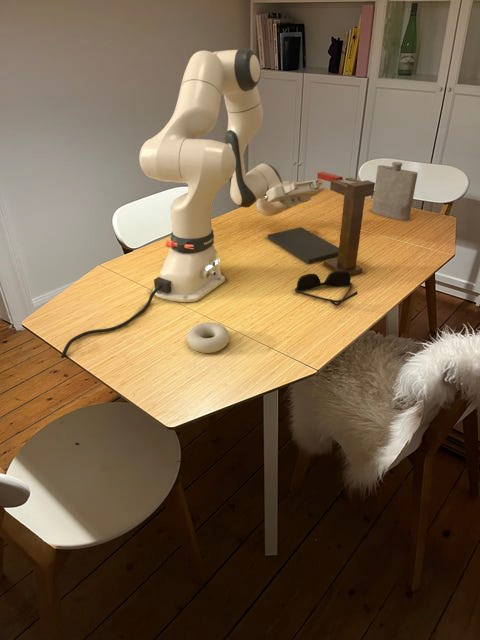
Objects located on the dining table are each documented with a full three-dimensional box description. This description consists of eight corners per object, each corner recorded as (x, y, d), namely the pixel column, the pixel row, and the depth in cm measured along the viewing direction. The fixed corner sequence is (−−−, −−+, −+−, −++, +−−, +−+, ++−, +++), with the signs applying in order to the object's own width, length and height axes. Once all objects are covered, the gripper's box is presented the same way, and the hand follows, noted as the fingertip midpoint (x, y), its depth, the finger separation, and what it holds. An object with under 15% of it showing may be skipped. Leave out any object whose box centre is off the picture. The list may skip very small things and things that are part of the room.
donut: (230, 355, 106) (229, 330, 114) (229, 343, 104) (229, 318, 112) (185, 356, 106) (188, 331, 114) (184, 344, 104) (187, 319, 112)
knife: (316, 178, 140) (316, 172, 139) (323, 177, 141) (323, 171, 140) (358, 189, 125) (358, 183, 125) (365, 188, 126) (366, 182, 126)
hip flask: (410, 219, 178) (420, 165, 167) (405, 221, 175) (415, 167, 165) (374, 209, 188) (381, 158, 177) (368, 211, 185) (375, 160, 175)
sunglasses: (310, 316, 120) (312, 299, 117) (293, 290, 132) (294, 274, 129) (371, 308, 123) (374, 291, 120) (348, 283, 135) (350, 267, 132)
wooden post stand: (323, 265, 145) (331, 177, 130) (341, 260, 148) (350, 174, 133) (344, 278, 137) (354, 186, 123) (362, 272, 140) (375, 182, 126)
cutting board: (267, 238, 164) (267, 234, 163) (300, 231, 169) (301, 227, 168) (308, 264, 146) (308, 259, 145) (343, 254, 151) (344, 250, 150)
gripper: (257, 190, 154) (277, 178, 141) (308, 181, 162) (331, 169, 150) (262, 209, 155) (282, 198, 142) (312, 199, 163) (336, 188, 150)
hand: (308, 183), depth 146 cm, fingers open, 8 cm apart
